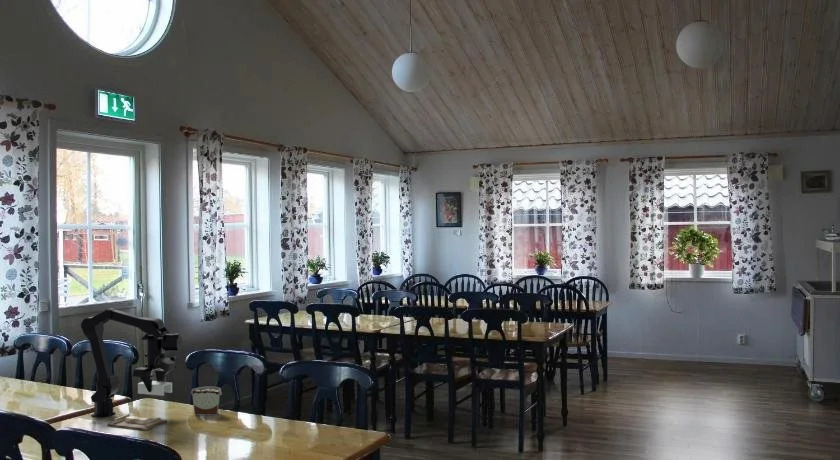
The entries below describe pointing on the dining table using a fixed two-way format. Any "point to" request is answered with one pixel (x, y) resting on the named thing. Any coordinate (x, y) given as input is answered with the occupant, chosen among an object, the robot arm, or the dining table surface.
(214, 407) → the food container
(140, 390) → the shell
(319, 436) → the dining table surface
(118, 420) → the dock
